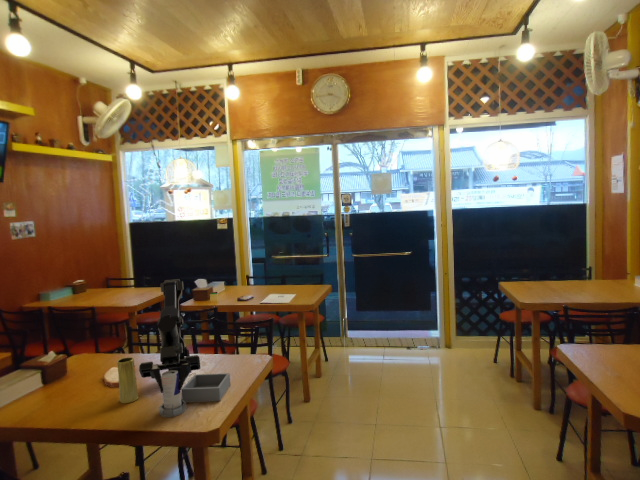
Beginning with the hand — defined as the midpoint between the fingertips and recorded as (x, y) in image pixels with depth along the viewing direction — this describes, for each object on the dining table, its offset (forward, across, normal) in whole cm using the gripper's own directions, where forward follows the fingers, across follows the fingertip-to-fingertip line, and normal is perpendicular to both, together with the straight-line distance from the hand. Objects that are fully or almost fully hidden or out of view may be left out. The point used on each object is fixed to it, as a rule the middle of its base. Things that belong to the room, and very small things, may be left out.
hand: (171, 391), depth 137 cm
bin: (-3, +11, +13) cm, 17 cm away
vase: (-7, -16, +18) cm, 24 cm away
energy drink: (+4, 0, +6) cm, 7 cm away
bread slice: (-24, -22, +36) cm, 48 cm away
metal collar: (+4, 0, +6) cm, 7 cm away
